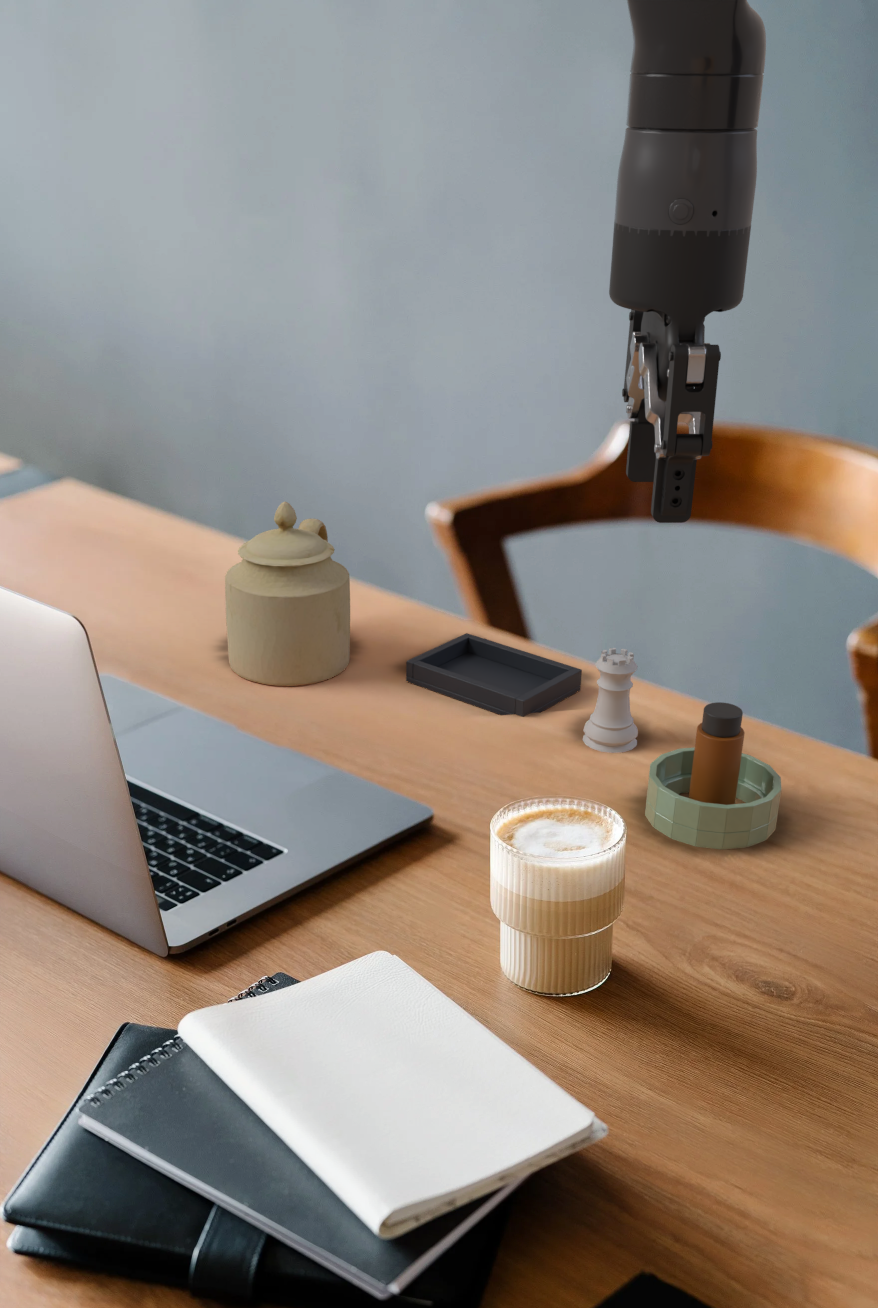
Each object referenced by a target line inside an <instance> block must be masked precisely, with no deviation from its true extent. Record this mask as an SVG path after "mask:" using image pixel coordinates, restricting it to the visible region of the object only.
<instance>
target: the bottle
mask: <svg viewBox="0 0 878 1308" xmlns="http://www.w3.org/2000/svg"><path fill="white" fill-rule="evenodd" d="M743 713H744V712H743V710H742V708H741V707H739V706H738V705H735V704H732V703H729V702H718V701H717V702H710V703H708V704H706V705H705V706H704V707H703V713H702V720H701V721H702V722H701V723H699V724H698V725H697V727H696V732H695V741H694V747H695V749H694V757H693V766H692V774H691V783H690V791H689V793H688V798H690V799H693V800H697V801H700V802H705V803H714V804H723V805H730V804H736V799H737V798H736V792H737V785H738V778H739V770H740V763H741V756H742V753H743V748H744V741H745V740H744V739H745V730H744V728H743V727H742V722H743Z"/></svg>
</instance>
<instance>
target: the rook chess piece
mask: <svg viewBox="0 0 878 1308" xmlns="http://www.w3.org/2000/svg"><path fill="white" fill-rule="evenodd" d="M634 656H635V654H634V653H633V652H632V651H629V652H628V649H625V648H621V649H620V653H617V648H616V647H610V648H609V649H608V650H607V649H602V651H601V654H600V657H599V658H598V659H597V660H596V661H595V664H594V665H595V666H594V667H596V669H597V670H598V672H599V673H600V674H599V675H600V676H599V678H598V679H597V680H596V684H597V686H598V693H597V699H596V704H595V707H594V709H593V712H592V713H591V714H590V716H589V719H588V720H587V721H586V722H585V724H584V726H583V729H582V730H583V733H584V734H583V736H582V742H583V743H584V744H585V746H587V747H588V748H590V749H592V750H595V751H598V752H601V753H609V754H610V753H611V754H616V753H625V752H629V751H632V750H633V749H634V748H636V747H637V746H638V740H637V739H636V738H637V737H638V736H639V730H638V727H637V725H636V724H635V722H634V721H635V720H634V717H633V716H632V712H631V702H630V701H631V700H630V693H631V689H632V688H633V687H634V683H633V681H632V679H631V678H632V675H633V674H634V673H635V672H636V671H637V670H638V664H637V663H636V662H635V660H634Z"/></svg>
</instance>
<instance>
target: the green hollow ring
mask: <svg viewBox="0 0 878 1308" xmlns="http://www.w3.org/2000/svg"><path fill="white" fill-rule="evenodd" d="M694 749H695V746H693V747H680V748H677V749H673V750H671V751H668V752H664V753H662V754H660V755H659V756H658V757H656V758H655V759H654V760H653V761H652V762H651V763H650V764H649V770H648V771H649V772H648V781H647V791H646V798H645V799H646V800H645V811H644V817H646V819H647V821H648V822H649V823H650V825H651V826H652V828H654V829H655V830H657V831H658V832H660V833H661V834H663V835H665V836H666V837H668V838H669V839H672V840H673V841H677V842H679V843H683V844H687V845H690V846H691V847H692V846H693V847H695V848H703V849H713V850H722V851H723V850H733V849H745V848H750V847H753V846H755V845H757V844H760V843H763V842H765V841H767V840H768V839H769V838H770V836H771V835H773V833H774V832H775V831H776V829H777V822H778V815H779V809H780V803H781V796H782V788H783V787H782V778H781V776H780V774H778V772H776V770H775V769H774V768H773V767H772V766H771V765H770V764H768V763H767V762H764V761H763V760H761V759H758V758H757V757H755V756H753V755H751V754H747V753H743V752H742V756H741V763H740V770H739V778H738V785H737V792H736V799H738V800H740V801H741V802H742V803H735V804H730V805H723V804H714V803H705V802H700V801H697V800H693V799H690V798H689V797H687V796H683V795H680V794H687V793H688V794H689V791H690V783H691V774H692V766H693V757H694ZM743 802H744V803H743Z"/></svg>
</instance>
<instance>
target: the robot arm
mask: <svg viewBox="0 0 878 1308" xmlns="http://www.w3.org/2000/svg"><path fill="white" fill-rule="evenodd" d="M626 4H627V10H628V15H629V20H630V26H631V33H632V42H633V43H632V54H631V61H630V69H629V72H630V74H629V81H628V96H627V108H626V123H625V125H626V126H627V127H626V128H625V132H624V140H623V146H622V150H621V154H620V155H621V156H620V160H619V165H618V171H617V179H616V193H615V194H616V195H615V208H614V222H613V232H612V233H613V235H612V248H611V249H612V250H611V263H610V276H609V288H608V289H609V290H608V294H609V298H610V300H611V301H612V302H613V304H614V305H617V306H618V307H621V308H623V309H627V310H630V312H629V314H628V320H629V328H628V338H627V349H626V361H625V370H624V380H623V381H624V383H623V388H622V390H621V395H622V396H621V397H623V402H624V403H627V404H626V407H625V413H626V415H627V418H628V420H629V421H630V422H629V431H628V444H627V456H626V469H625V474H626V476H627V478H628V479H629V481H630V482H632V483H652V493H651V494H652V495H651V503H650V506H651V507H650V514H651V517H652V518H653V520H654V521H655V522H657V523H659V524H679V523H680V524H682V523H686V522H688V521H689V520H690V518H691V516H692V508H693V499H694V489H695V480H696V471H697V463H698V462H697V461H698V460H701V459H702V457H709V456H710V454H711V450H712V449H713V431H714V430H713V429H714V420H715V409H716V399H717V387H718V379H719V369H720V368H719V367H720V361H721V359H722V353H721V349H720V345H719V344H711V343H710V342H705V333H706V332H705V330H706V327H705V323H704V322H705V321H706V317H707V316H708V315H710V314H712V313H713V312H715V313H716V312H717V313H722V312H727V311H730V310H731V311H732V310H733V309H735V308H737V307H738V306H739V305H740V304H741V303H742V301H743V297H744V293H745V291H744V289H745V282H746V274H747V265H748V256H749V249H750V241H751V240H750V239H751V231H752V219H753V214H754V213H753V211H754V204H755V196H756V188H757V177H758V153H757V152H758V151H757V149H758V148H757V147H758V146H757V145H758V141H757V140H758V129H757V128H758V127H759V121H760V120H759V119H760V110H761V102H762V92H763V84H764V73H765V66H766V65H765V64H766V54H767V34H766V28H765V24H764V21H763V19H762V17H761V16H760V14H759V13H758V12H757V11H756V10H755V9H754V8H753V7H751V5H750V4H749V2H748V0H626ZM678 423H681V424H682V423H683V424H685V425H687V426H688V433H678Z"/></svg>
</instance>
